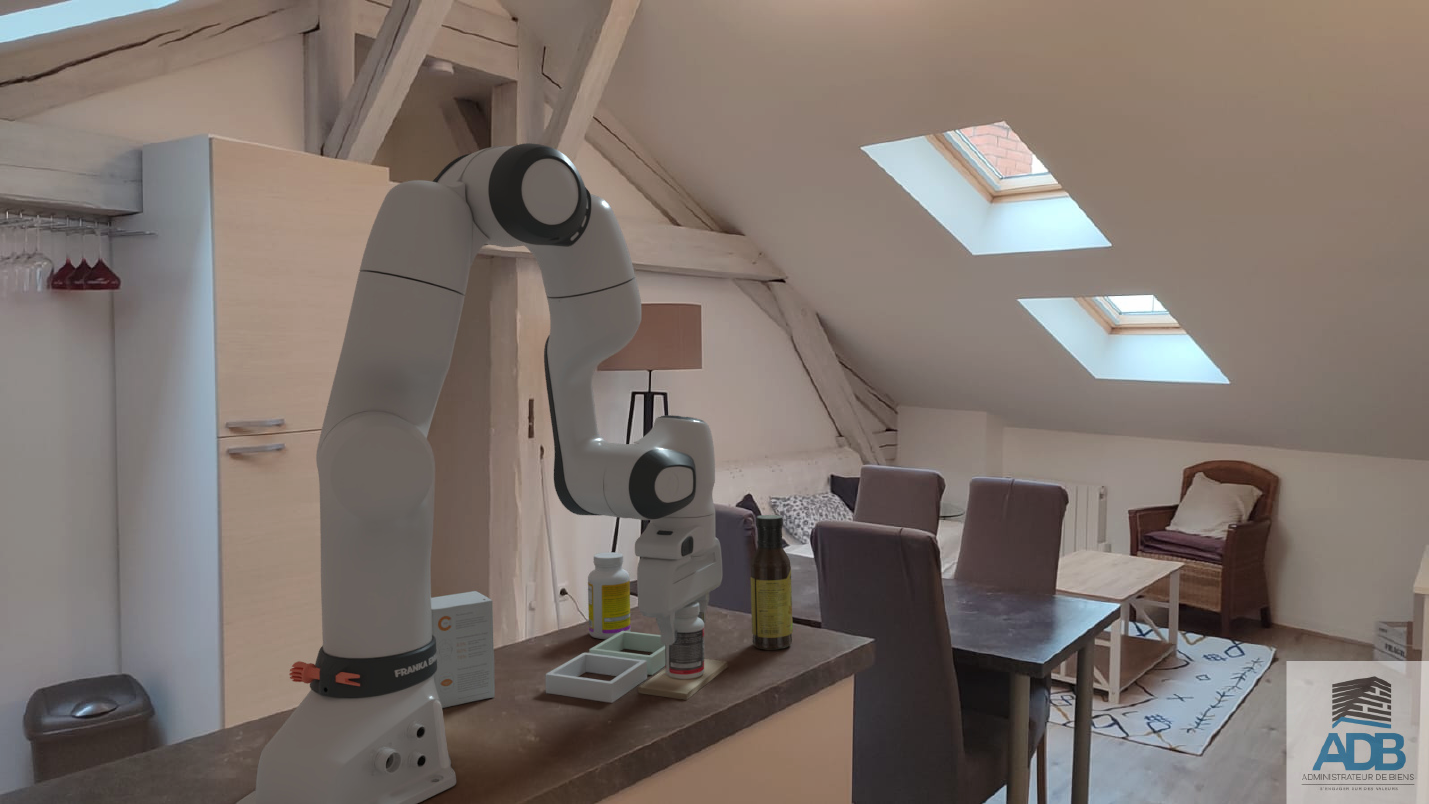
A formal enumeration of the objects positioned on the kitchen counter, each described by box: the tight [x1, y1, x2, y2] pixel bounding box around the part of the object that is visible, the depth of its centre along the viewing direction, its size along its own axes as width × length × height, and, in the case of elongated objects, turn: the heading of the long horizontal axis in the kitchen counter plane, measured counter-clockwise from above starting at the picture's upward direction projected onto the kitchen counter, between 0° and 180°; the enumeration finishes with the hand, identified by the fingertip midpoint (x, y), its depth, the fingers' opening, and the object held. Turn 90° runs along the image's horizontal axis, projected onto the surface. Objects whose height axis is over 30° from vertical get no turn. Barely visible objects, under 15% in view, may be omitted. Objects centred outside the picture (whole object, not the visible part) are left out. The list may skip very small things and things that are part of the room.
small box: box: [431, 590, 496, 709], centre depth 127 cm, size 8×6×13 cm
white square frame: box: [545, 652, 648, 704], centre depth 131 cm, size 10×10×2 cm
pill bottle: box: [664, 601, 705, 679], centre depth 133 cm, size 5×5×10 cm
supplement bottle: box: [587, 551, 631, 640], centre depth 154 cm, size 7×7×13 cm
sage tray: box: [588, 631, 665, 676], centre depth 141 cm, size 10×10×2 cm
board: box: [638, 658, 728, 701], centre depth 133 cm, size 14×7×1 cm, turn 157°
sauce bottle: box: [750, 514, 794, 651], centre depth 148 cm, size 6×6×20 cm
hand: (684, 633), depth 133 cm, fingers open, 8 cm apart
